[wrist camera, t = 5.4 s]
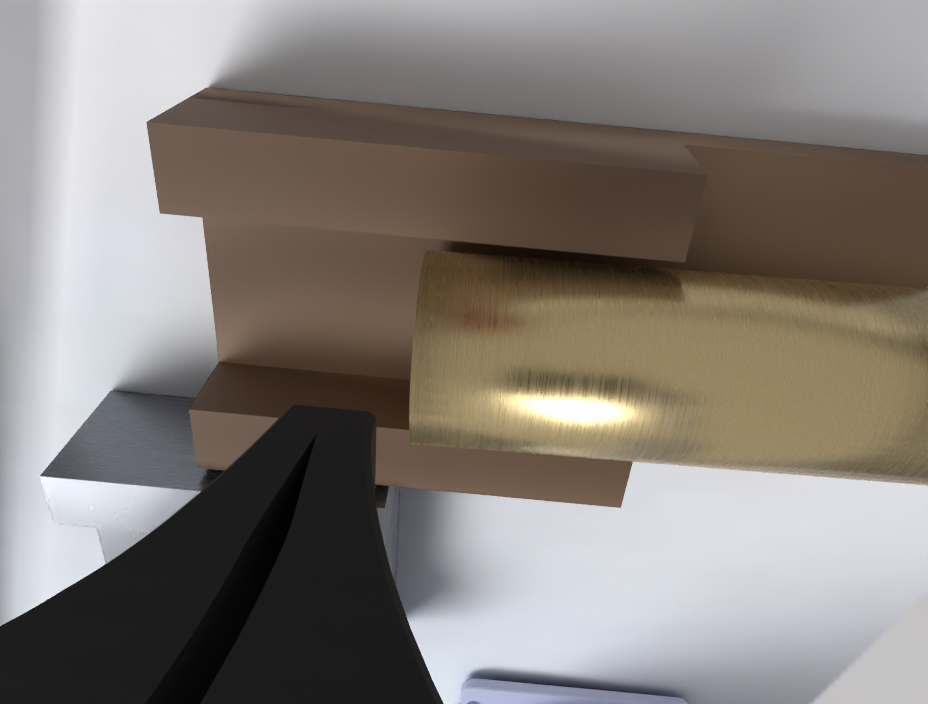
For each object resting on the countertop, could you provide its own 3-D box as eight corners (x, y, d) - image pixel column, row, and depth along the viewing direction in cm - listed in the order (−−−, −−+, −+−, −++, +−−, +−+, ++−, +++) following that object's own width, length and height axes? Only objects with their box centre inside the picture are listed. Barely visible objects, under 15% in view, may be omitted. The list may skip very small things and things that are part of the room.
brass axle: (988, 264, 15) (1125, 362, 12) (915, 413, 18) (1014, 534, 14) (432, 220, 16) (411, 306, 12) (426, 375, 18) (406, 484, 14)
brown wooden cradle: (826, 450, 19) (874, 531, 17) (237, 395, 19) (197, 468, 17) (953, 157, 15) (1044, 206, 13) (206, 87, 15) (146, 121, 13)
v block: (393, 622, 24) (377, 722, 21) (155, 599, 24) (105, 696, 21) (403, 417, 20) (384, 508, 17) (110, 390, 20) (39, 476, 17)
